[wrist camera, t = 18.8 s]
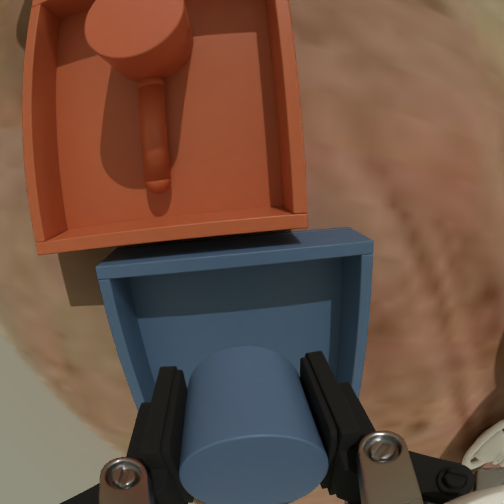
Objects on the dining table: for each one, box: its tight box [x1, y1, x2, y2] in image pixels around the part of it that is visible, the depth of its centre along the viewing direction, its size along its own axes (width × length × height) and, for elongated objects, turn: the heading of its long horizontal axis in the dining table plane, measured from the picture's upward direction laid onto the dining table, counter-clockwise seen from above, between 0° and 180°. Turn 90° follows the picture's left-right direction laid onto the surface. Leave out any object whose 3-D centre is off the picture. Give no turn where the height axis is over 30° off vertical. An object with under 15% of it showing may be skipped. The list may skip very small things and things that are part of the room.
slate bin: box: [95, 227, 373, 411], centre depth 16 cm, size 13×12×3 cm
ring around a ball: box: [462, 419, 504, 470], centre depth 22 cm, size 8×6×8 cm
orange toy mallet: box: [84, 0, 193, 194], centre depth 11 cm, size 9×4×4 cm, turn 4°
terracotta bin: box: [22, 0, 308, 255], centre depth 12 cm, size 13×12×3 cm
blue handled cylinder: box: [179, 346, 329, 504], centre depth 9 cm, size 9×4×4 cm, turn 4°
